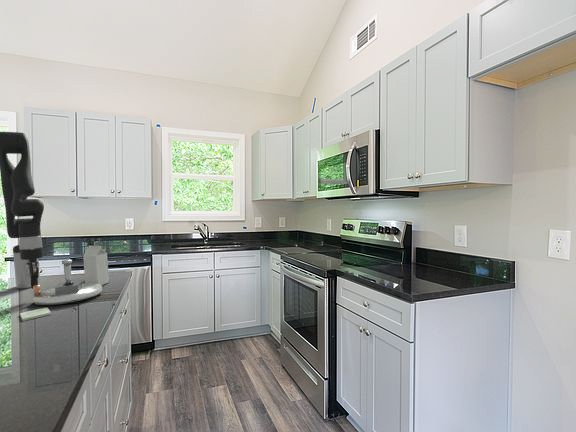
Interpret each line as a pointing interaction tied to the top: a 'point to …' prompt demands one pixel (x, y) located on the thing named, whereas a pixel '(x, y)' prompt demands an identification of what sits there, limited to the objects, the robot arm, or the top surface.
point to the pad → (35, 314)
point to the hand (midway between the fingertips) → (34, 287)
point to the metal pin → (67, 271)
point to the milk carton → (96, 265)
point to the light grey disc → (66, 293)
